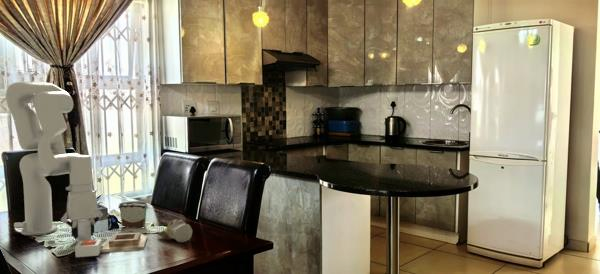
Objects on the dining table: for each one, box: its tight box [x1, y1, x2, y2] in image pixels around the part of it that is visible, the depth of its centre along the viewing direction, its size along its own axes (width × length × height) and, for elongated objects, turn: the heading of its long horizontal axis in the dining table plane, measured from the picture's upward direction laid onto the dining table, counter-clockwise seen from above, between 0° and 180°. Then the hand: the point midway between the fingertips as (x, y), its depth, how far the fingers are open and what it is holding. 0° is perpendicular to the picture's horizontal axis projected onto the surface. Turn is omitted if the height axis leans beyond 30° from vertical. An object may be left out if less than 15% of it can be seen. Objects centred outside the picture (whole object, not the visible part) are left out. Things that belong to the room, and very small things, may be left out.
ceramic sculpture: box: [156, 217, 193, 243], centre depth 177 cm, size 11×9×15 cm
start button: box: [82, 239, 96, 246], centre depth 161 cm, size 4×4×2 cm
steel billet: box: [75, 219, 92, 244], centre depth 175 cm, size 4×4×8 cm
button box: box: [74, 239, 103, 258], centre depth 161 cm, size 7×7×4 cm
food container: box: [118, 200, 149, 228], centre depth 196 cm, size 12×6×10 cm, turn 84°
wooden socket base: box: [100, 232, 148, 253], centre depth 170 cm, size 14×14×3 cm
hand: (83, 235), depth 175 cm, fingers open, 4 cm apart
